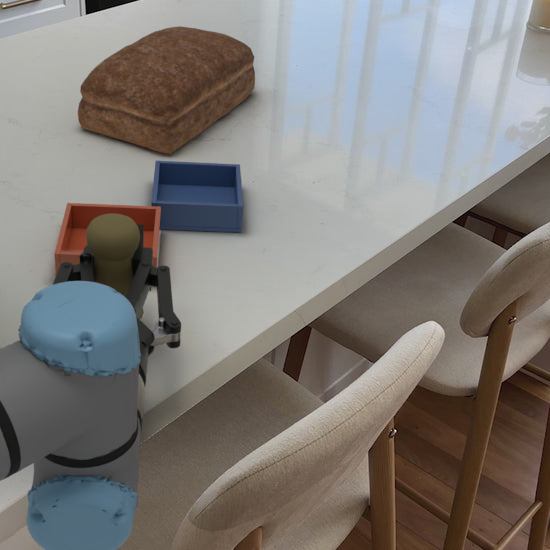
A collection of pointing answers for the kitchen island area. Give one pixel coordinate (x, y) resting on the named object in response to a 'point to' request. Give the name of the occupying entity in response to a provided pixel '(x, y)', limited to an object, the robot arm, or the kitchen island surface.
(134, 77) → the bread
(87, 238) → the olive green pawn
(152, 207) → the terracotta bin
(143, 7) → the kitchen island surface
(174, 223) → the blue bin
